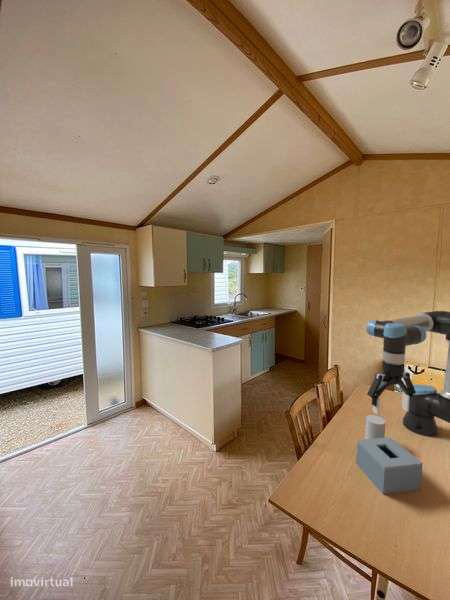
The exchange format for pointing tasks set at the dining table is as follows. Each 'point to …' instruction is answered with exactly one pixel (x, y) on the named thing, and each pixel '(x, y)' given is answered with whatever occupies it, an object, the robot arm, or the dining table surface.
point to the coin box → (389, 465)
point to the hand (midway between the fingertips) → (390, 411)
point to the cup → (374, 427)
